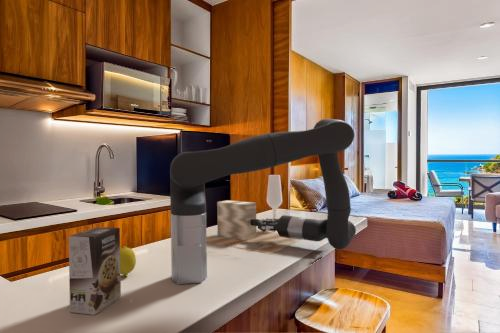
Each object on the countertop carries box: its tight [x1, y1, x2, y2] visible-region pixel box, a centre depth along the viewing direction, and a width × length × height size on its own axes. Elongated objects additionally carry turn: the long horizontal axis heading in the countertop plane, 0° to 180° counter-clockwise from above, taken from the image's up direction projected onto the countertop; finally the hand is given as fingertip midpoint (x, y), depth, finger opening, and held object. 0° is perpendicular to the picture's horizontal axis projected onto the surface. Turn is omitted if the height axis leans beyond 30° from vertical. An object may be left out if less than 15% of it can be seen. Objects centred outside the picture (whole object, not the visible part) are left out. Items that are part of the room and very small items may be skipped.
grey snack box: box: [68, 226, 122, 316], centre depth 72 cm, size 9×6×16 cm
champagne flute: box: [266, 174, 283, 219], centre depth 139 cm, size 7×7×24 cm
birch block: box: [216, 199, 257, 240], centre depth 126 cm, size 14×6×13 cm, turn 56°
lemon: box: [120, 245, 137, 277], centre depth 89 cm, size 6×6×8 cm
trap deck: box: [206, 229, 300, 255], centre depth 123 cm, size 32×26×2 cm
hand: (251, 222), depth 122 cm, fingers closed
